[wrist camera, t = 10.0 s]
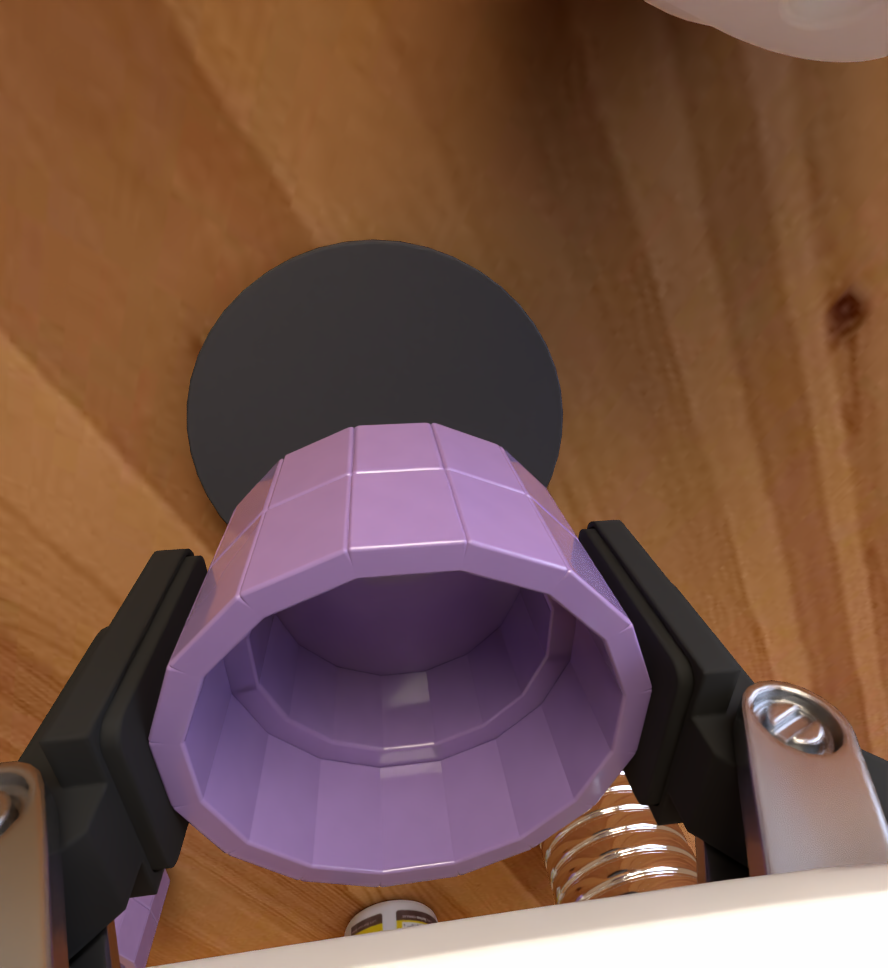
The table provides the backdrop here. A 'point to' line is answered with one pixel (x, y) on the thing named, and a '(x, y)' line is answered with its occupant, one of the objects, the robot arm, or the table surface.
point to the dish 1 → (139, 926)
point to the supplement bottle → (390, 917)
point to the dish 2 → (397, 666)
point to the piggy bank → (795, 25)
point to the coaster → (367, 363)
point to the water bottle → (616, 851)
